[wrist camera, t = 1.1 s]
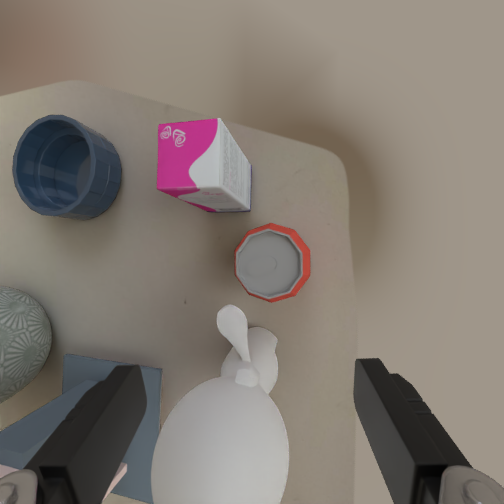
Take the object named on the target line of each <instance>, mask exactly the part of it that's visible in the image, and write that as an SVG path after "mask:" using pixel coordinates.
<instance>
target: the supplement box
mask: <svg viewBox="0 0 504 504" xmlns="http://www.w3.org/2000/svg"><path fill="white" fill-rule="evenodd" d="M251 172H252V166H251V164H250V163H249V161H248V160H247V158H246V157H245V155H244V154H243V152H242V151H241V149H240V148H239V146H238V145H237V143H236V142H235V140H234V138H233V137H232V135H231V134H230V132H229V131H228V129H227V128H226V126H225V125H224V123H223V122H222V120H221V119H220V118H218V119H208V120H198V121H188V122H178V123H168V124H159V126H158V170H157V189H158V190H160V191H162V192H164V193H167V194H169V195H171V196H173V197H176V198H178V199H180V200H183V201H185V202H187V203H190V204H192V205H194V206H197V207H199V208H201V209H204V210H206V211H208V212H246V211H251V210H250V209H251Z"/></svg>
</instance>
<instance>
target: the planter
mask: <svg viewBox="0 0 504 504" xmlns="http://www.w3.org/2000/svg"><path fill="white" fill-rule="evenodd" d="M51 343H52V331H51V325H50V322H49V319H48V316H47V314H46V312H45V311H44V309H43V308H42V306H41V305H40V304H39V303H38V302H37V301H36V300H34V299H33V298H32V297H31V296H29V295H27V294H26V293H24V292H22V291H20V290H16V289H13V288H10V287H5V286H0V403H2V402H4V401H5V400H7V399H9V398H10V397H12V396H13V395H15V394H16V393H17V392H19V391H20V390H21V389H23V388H24V387H25V386H26V385H27V384H28V383H29V382H30V381H32V380H33V379H34V378H35V376H36V375H37V374H38V373H39V372H40V370H41V369H42V367H43V365H44V364H45V362H46V360H47V357H48V355H49V352H50V349H51Z"/></svg>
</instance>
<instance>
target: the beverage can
mask: <svg viewBox="0 0 504 504" xmlns="http://www.w3.org/2000/svg"><path fill="white" fill-rule="evenodd" d="M235 276H236V277H237V279H238V280H239V281H240V283H241V284H242V286H243V287H244V289H245V290H246V291H247V293H248V294H249V295H252V296H254V297H257V298H260V299H263V300H266V301H268V302H271V303H272V302H275V301H279V300H282V299H286V298H289V297H292V296H295V295H296V294H297V293H298V291H299V290H300V289H301V287H302V286H303V285H304V283H305V282H306V281H307V279H308V278H309V277H310V250H309V248H308V247H307V246H306V244H305V243H304V242H303V240H302V239H301V238H300V236H299V235H298V234H297V232H296V231H295V230H293V229H290V228H286V227H283V226H279V225H276V224H273V223H269V224H267V225H264V226H261V227H258V228H255V229H253V230H250V231H248V232H247V233H246V235H245V236H244V238H243V239H242V241H241V242H240V244H239V245H238V247H237V248H236V249H235Z"/></svg>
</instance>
